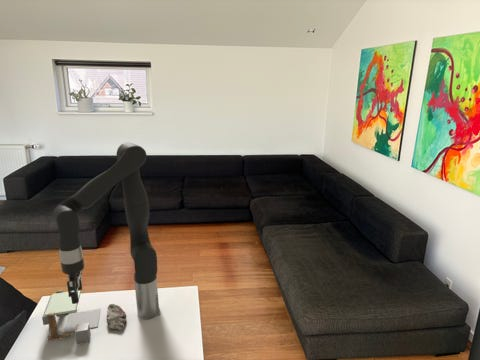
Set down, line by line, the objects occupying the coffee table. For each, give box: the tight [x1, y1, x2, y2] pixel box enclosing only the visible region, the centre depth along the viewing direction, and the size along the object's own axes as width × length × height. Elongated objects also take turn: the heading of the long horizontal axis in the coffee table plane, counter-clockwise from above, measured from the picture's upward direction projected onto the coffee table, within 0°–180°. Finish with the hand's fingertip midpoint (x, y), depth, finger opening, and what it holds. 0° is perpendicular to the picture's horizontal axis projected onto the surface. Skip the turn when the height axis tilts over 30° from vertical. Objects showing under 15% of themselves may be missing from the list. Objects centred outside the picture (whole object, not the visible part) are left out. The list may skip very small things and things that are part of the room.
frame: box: [47, 289, 78, 342], centre depth 143 cm, size 8×18×12 cm, turn 16°
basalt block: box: [74, 322, 92, 345], centre depth 136 cm, size 4×4×6 cm
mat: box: [62, 308, 101, 334], centre depth 147 cm, size 13×12×1 cm
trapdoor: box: [41, 290, 82, 326], centre depth 142 cm, size 12×14×5 cm
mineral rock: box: [106, 303, 127, 331], centre depth 147 cm, size 15×8×4 cm, turn 16°
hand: (77, 296), depth 131 cm, fingers open, 8 cm apart
